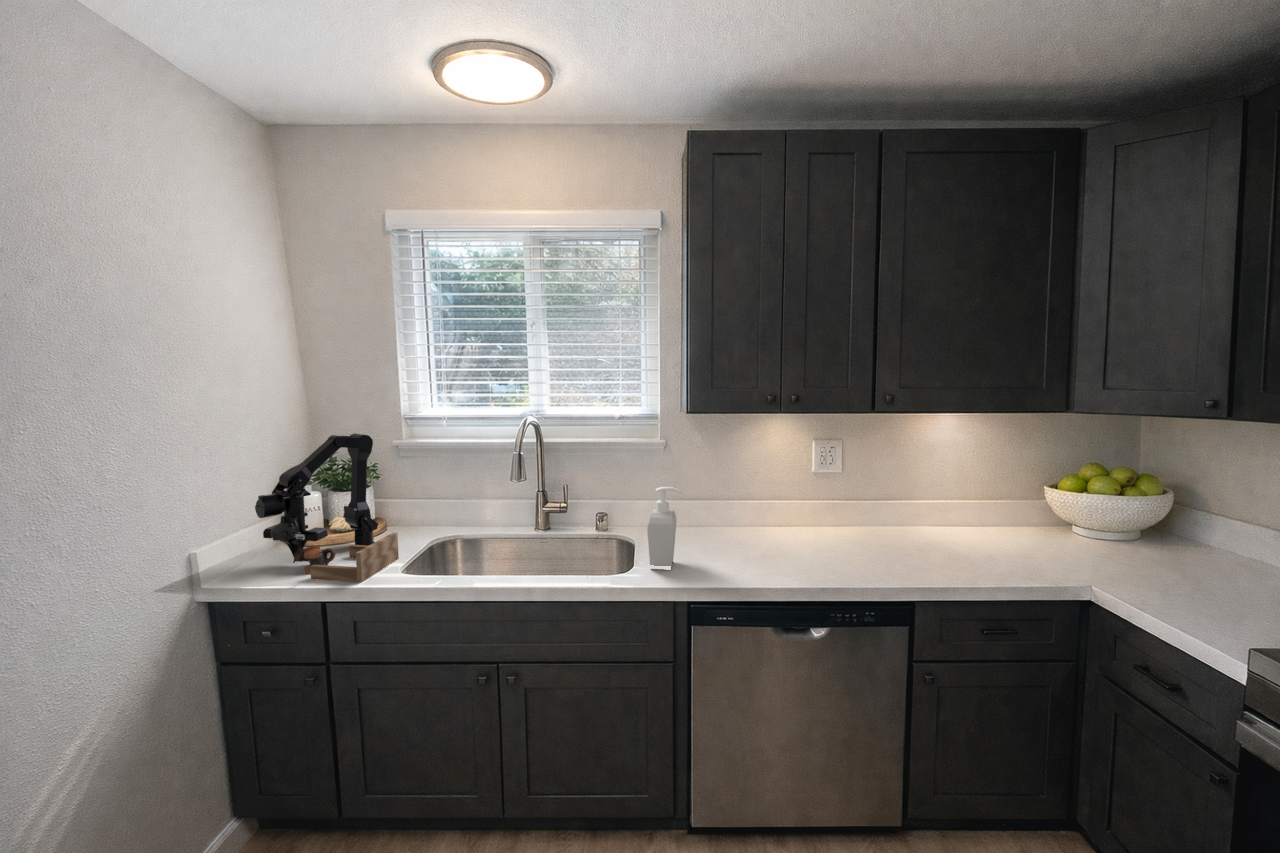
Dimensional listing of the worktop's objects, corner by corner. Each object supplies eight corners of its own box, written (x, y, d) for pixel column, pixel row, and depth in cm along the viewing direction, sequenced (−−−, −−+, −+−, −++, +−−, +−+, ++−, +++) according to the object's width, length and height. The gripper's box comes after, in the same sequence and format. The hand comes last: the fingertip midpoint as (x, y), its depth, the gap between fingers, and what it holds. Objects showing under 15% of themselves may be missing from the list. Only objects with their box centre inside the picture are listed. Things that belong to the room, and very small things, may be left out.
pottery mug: (295, 578, 188) (287, 552, 190) (302, 581, 197) (295, 556, 198) (337, 563, 192) (329, 538, 194) (342, 567, 201) (335, 543, 203)
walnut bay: (352, 556, 207) (350, 530, 206) (398, 558, 205) (397, 532, 204) (310, 579, 186) (309, 550, 185) (361, 582, 184) (360, 553, 183)
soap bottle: (679, 573, 193) (680, 492, 190) (646, 571, 194) (647, 491, 191) (681, 560, 205) (682, 483, 202) (651, 558, 206) (651, 482, 203)
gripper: (248, 516, 189) (251, 565, 191) (303, 519, 187) (306, 569, 189) (274, 507, 200) (277, 554, 202) (327, 510, 198) (329, 557, 200)
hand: (296, 559), depth 198 cm, fingers closed
